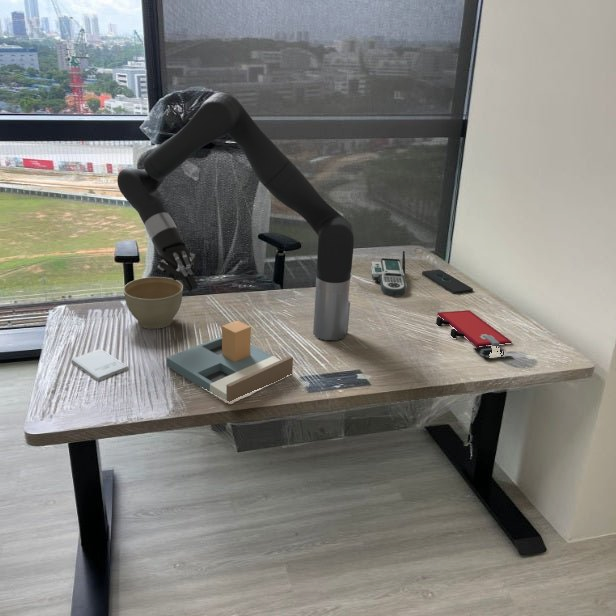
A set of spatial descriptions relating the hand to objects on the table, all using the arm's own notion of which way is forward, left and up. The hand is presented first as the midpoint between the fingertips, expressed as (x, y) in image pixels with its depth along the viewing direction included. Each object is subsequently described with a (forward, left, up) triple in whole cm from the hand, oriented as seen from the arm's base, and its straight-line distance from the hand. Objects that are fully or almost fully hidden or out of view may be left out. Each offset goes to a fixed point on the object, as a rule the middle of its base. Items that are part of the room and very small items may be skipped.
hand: (193, 290), depth 156 cm
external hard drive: (+26, -5, -16) cm, 30 cm away
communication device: (-76, +9, -15) cm, 78 cm away
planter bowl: (+2, -16, -15) cm, 22 cm away
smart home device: (-92, +22, -15) cm, 96 cm away
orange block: (0, +17, -12) cm, 21 cm away
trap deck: (+4, +19, -15) cm, 24 cm away
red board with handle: (-62, +50, -15) cm, 81 cm away
